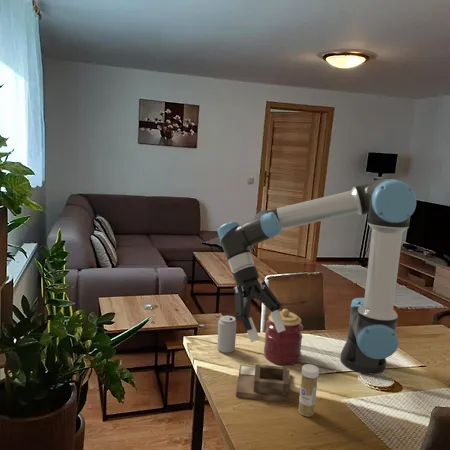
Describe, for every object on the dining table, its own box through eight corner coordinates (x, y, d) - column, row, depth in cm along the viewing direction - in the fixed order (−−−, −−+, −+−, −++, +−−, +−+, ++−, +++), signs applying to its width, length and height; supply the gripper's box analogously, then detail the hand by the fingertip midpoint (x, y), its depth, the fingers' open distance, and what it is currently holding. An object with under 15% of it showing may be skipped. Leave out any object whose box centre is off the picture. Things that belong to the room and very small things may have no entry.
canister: (304, 366, 145) (309, 316, 142) (266, 365, 144) (270, 315, 141) (295, 348, 158) (299, 303, 155) (260, 347, 157) (264, 302, 154)
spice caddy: (288, 374, 139) (290, 360, 138) (291, 402, 123) (292, 386, 122) (239, 369, 140) (240, 355, 140) (235, 396, 125) (236, 380, 124)
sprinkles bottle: (294, 412, 119) (298, 367, 116) (303, 405, 122) (307, 361, 120) (309, 419, 116) (313, 373, 113) (317, 412, 119) (322, 367, 117)
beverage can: (233, 355, 150) (235, 322, 148) (215, 352, 151) (216, 320, 149) (236, 347, 156) (238, 316, 154) (219, 344, 157) (220, 313, 155)
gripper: (258, 271, 145) (282, 331, 139) (208, 278, 126) (233, 348, 120) (275, 262, 140) (300, 324, 134) (225, 268, 122) (252, 341, 115)
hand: (269, 336), depth 127 cm, fingers open, 13 cm apart
